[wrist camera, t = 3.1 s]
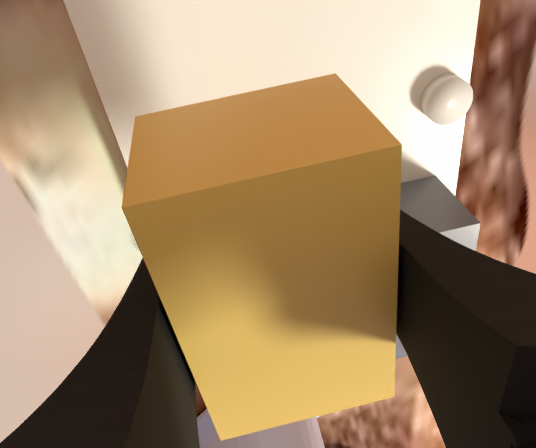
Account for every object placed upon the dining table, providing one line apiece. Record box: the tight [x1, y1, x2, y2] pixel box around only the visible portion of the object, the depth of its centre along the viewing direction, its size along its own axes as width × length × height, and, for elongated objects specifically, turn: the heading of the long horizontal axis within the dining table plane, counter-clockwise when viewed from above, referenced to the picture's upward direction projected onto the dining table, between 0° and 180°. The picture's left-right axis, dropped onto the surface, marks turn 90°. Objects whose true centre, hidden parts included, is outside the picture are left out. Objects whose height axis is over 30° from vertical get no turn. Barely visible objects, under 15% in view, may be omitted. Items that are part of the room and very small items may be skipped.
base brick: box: [395, 175, 480, 359], centre depth 23 cm, size 8×5×4 cm, turn 8°
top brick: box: [122, 73, 402, 441], centre depth 12 cm, size 8×5×4 cm, turn 8°
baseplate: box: [63, 0, 480, 196], centre depth 21 cm, size 20×15×2 cm
